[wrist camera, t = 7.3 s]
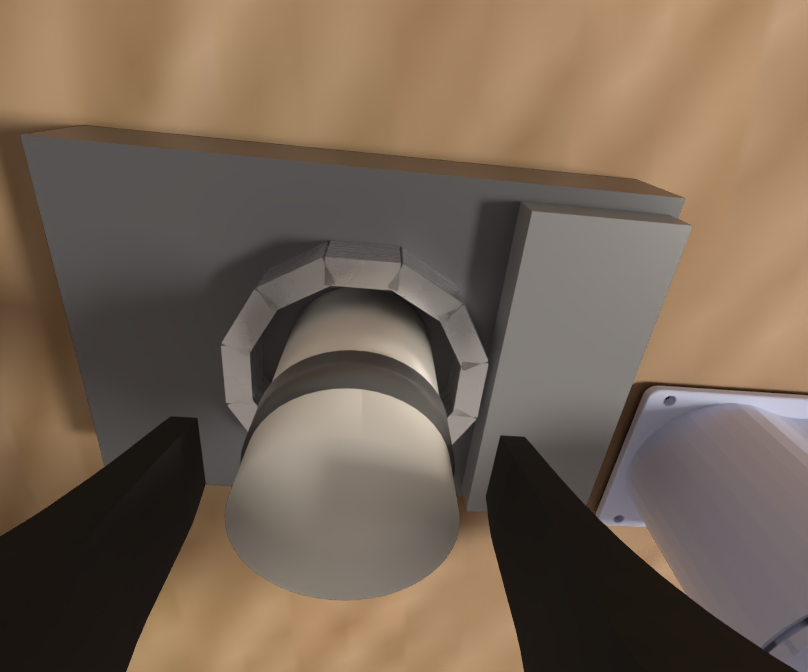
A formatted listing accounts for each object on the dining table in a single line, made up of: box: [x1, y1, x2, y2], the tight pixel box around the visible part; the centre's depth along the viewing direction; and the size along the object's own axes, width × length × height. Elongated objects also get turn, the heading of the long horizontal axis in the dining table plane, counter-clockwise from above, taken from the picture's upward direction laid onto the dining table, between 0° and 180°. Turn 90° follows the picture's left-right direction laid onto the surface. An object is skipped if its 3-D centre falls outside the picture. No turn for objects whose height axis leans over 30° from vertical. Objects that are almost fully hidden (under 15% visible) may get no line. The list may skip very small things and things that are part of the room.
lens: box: [225, 287, 460, 600], centre depth 13 cm, size 5×5×7 cm
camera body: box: [20, 125, 692, 512], centre depth 17 cm, size 18×12×4 cm, turn 84°
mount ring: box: [221, 240, 489, 444], centre depth 15 cm, size 8×8×2 cm
